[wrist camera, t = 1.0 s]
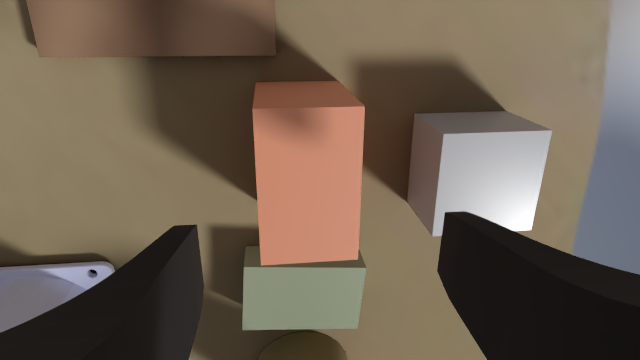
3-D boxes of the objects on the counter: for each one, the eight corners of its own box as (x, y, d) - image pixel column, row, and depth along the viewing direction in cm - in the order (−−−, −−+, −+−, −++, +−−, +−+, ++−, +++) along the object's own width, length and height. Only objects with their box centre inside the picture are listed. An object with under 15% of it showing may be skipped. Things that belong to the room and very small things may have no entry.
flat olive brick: (244, 302, 25) (242, 330, 23) (245, 243, 24) (243, 267, 22) (349, 301, 26) (357, 328, 24) (357, 244, 25) (366, 267, 22)
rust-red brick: (261, 203, 23) (260, 265, 17) (255, 81, 20) (252, 108, 15) (335, 199, 23) (358, 259, 18) (338, 80, 21) (364, 106, 15)
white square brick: (406, 201, 24) (432, 236, 20) (413, 113, 22) (443, 134, 18) (490, 196, 24) (531, 230, 21) (504, 110, 22) (552, 130, 19)
